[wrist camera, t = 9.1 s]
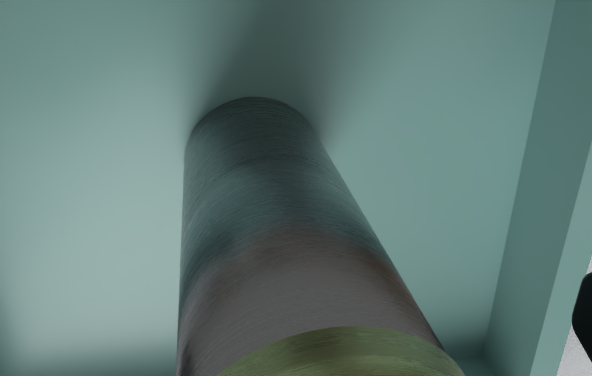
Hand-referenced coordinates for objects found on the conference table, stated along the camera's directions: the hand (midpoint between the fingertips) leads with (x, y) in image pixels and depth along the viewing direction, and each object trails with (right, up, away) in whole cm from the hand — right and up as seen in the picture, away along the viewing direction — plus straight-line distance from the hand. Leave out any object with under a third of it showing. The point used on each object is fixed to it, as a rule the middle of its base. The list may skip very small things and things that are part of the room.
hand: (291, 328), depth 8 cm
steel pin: (-1, +3, +5) cm, 6 cm away
